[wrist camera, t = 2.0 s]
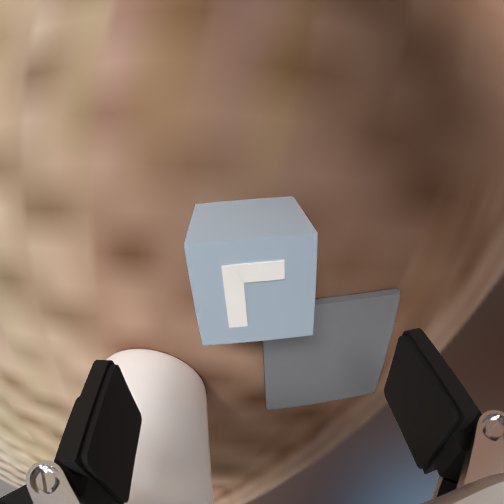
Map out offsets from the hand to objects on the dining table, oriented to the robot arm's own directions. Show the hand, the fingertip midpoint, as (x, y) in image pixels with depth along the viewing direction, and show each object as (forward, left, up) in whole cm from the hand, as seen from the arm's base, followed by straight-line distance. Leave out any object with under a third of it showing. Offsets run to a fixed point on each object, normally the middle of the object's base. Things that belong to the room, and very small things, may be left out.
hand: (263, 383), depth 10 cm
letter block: (-1, 0, -9) cm, 9 cm away
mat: (+8, +5, -9) cm, 13 cm away
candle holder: (+10, -8, -9) cm, 16 cm away
